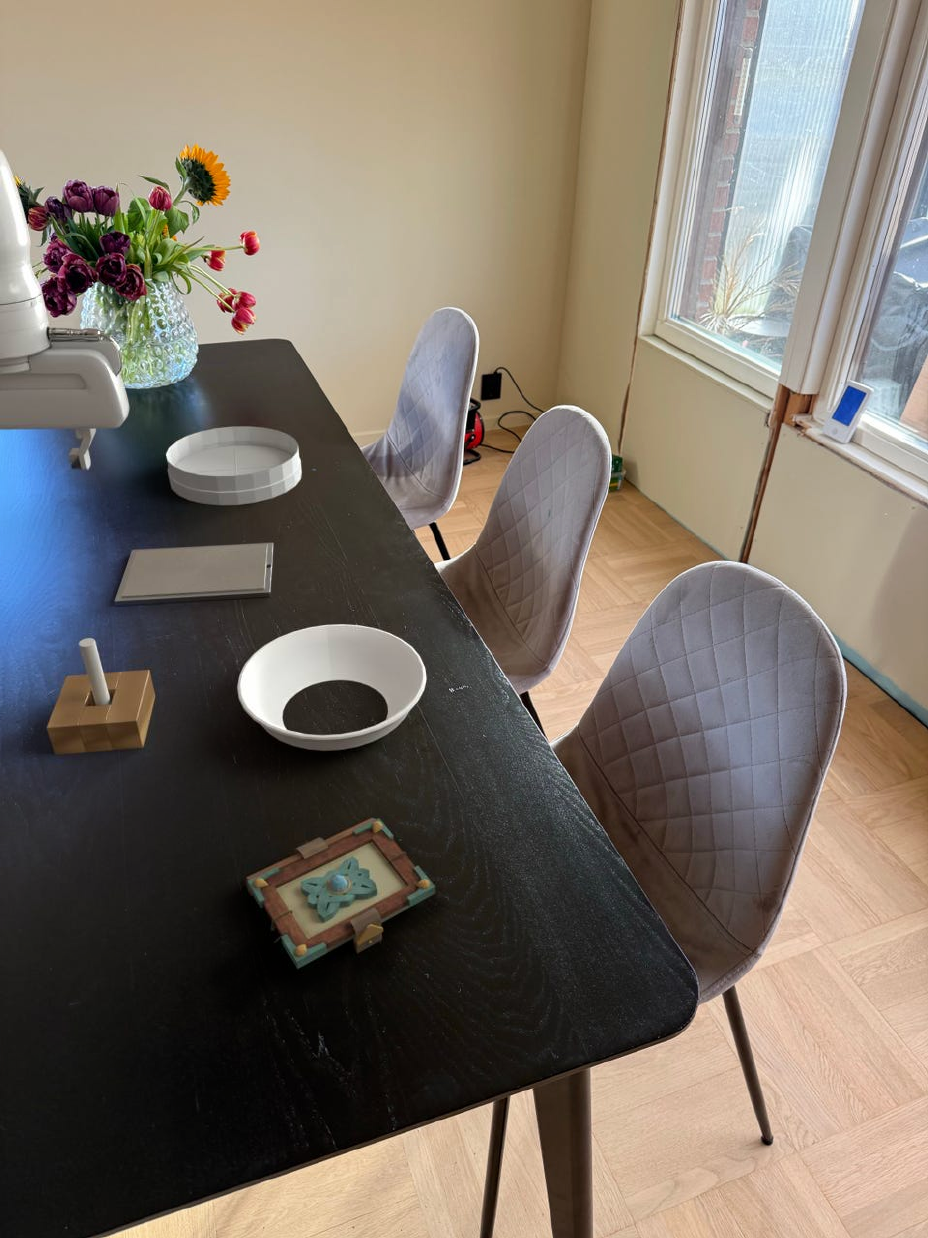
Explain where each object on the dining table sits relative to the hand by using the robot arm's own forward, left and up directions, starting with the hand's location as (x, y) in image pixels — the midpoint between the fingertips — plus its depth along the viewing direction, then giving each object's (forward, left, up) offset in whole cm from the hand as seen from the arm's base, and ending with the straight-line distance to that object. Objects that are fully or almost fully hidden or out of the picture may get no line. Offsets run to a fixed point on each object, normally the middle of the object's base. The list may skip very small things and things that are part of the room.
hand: (32, 468), depth 86 cm
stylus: (+5, -11, -26) cm, 29 cm away
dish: (+13, +55, -26) cm, 62 cm away
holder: (+4, -11, -26) cm, 28 cm away
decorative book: (+26, -39, -26) cm, 54 cm away
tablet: (+10, +22, -26) cm, 36 cm away
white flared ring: (+28, -12, -26) cm, 40 cm away
